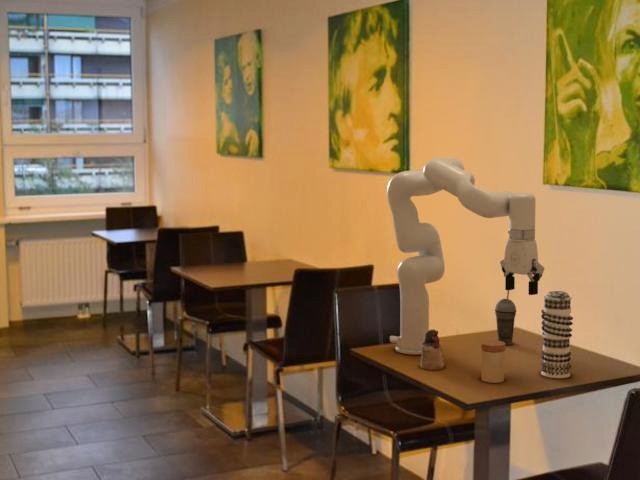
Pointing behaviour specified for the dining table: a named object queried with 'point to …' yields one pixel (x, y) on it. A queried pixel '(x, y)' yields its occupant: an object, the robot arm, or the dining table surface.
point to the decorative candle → (556, 335)
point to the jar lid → (493, 346)
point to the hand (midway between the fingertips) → (521, 292)
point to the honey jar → (493, 366)
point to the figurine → (432, 352)
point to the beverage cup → (505, 320)
